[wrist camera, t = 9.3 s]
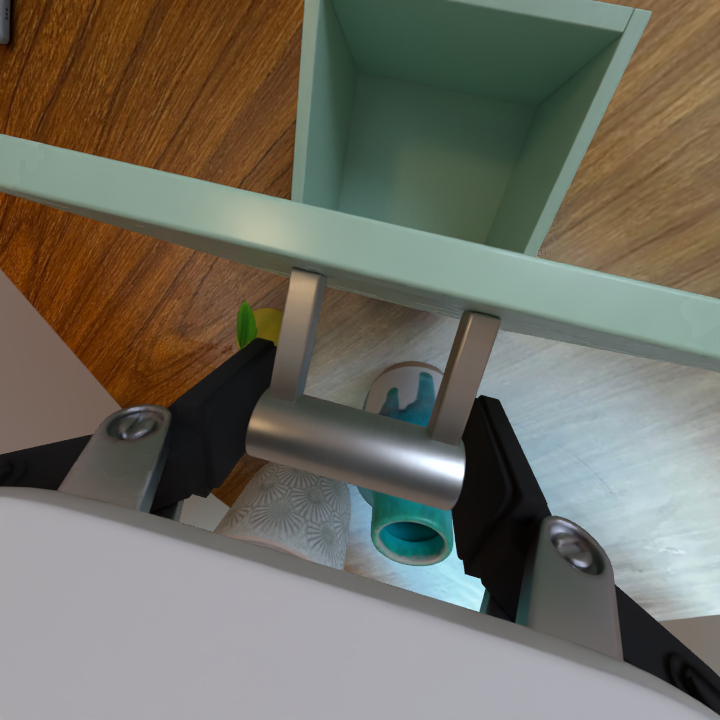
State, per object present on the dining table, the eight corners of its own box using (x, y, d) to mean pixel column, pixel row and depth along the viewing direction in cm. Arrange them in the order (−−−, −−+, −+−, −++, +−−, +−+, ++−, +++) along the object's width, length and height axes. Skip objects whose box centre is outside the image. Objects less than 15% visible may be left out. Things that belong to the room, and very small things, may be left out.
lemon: (276, 284, 32) (224, 310, 23) (315, 320, 33) (279, 358, 24) (246, 322, 35) (190, 358, 26) (283, 354, 36) (241, 399, 27)
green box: (351, 60, 22) (307, -52, 13) (548, 99, 22) (654, 10, 12) (326, 251, 29) (285, 269, 20) (474, 286, 29) (504, 322, 19)
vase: (412, 329, 32) (412, 459, 15) (475, 387, 34) (537, 560, 17) (353, 384, 36) (301, 530, 20) (411, 432, 38) (410, 602, 22)
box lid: (-76, 114, 4) (-55, 436, 6) (1017, 364, 4) (780, 684, 5) (284, 264, 19) (270, 342, 21) (508, 318, 19) (481, 397, 20)
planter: (382, 475, 43) (369, 593, 30) (327, 522, 51) (296, 631, 38) (289, 416, 41) (228, 514, 27) (245, 474, 49) (182, 573, 35)
